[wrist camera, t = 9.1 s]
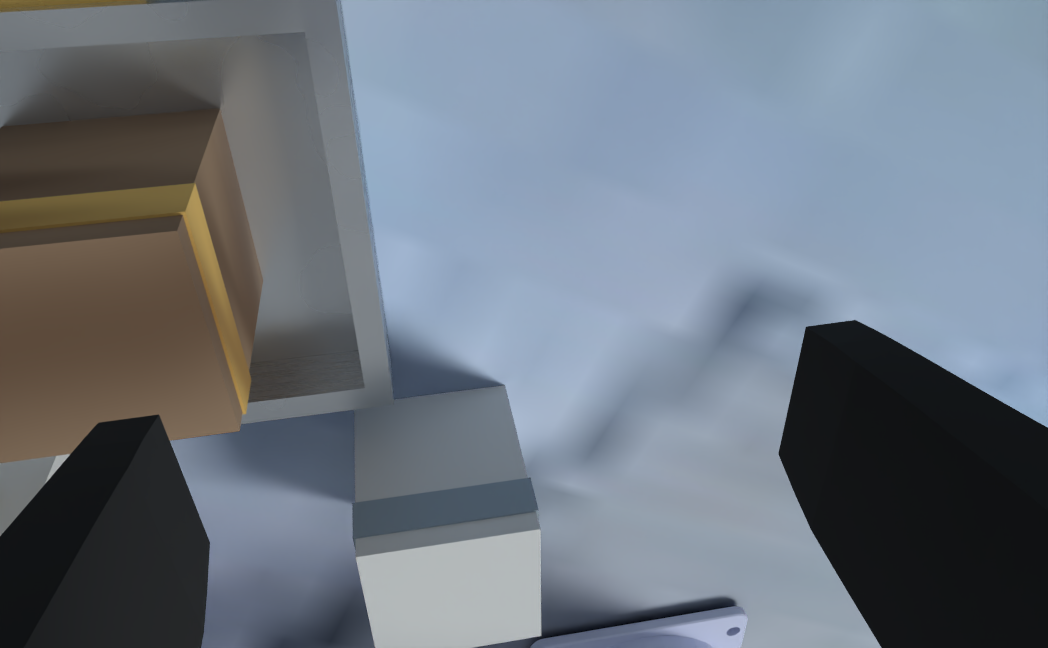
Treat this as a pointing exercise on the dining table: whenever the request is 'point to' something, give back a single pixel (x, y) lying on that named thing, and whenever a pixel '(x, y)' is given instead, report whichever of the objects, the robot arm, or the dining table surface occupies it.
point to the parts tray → (239, 160)
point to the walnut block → (122, 280)
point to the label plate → (23, 484)
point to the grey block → (446, 522)
